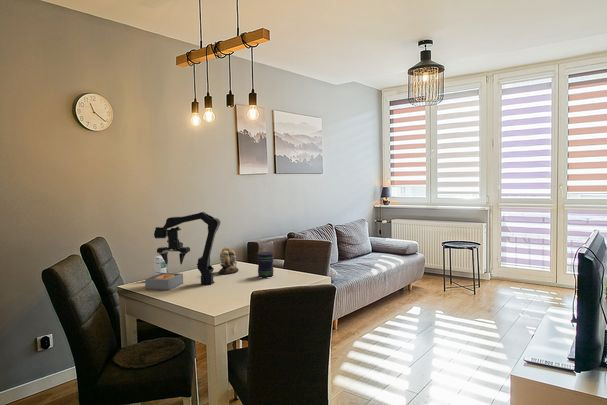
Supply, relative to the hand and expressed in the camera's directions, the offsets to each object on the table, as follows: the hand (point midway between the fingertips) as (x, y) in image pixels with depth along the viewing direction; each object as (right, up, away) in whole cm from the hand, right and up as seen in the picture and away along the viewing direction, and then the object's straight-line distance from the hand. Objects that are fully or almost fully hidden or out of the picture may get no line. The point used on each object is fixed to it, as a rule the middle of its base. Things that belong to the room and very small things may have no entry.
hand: (174, 264), depth 244 cm
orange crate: (-4, -11, -6) cm, 13 cm away
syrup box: (-12, -12, +13) cm, 21 cm away
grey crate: (-4, -12, -5) cm, 14 cm away
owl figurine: (+27, -10, +31) cm, 42 cm away
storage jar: (+53, -10, +16) cm, 57 cm away
